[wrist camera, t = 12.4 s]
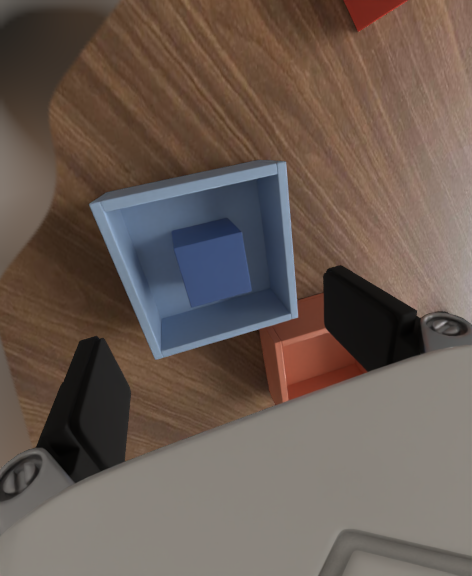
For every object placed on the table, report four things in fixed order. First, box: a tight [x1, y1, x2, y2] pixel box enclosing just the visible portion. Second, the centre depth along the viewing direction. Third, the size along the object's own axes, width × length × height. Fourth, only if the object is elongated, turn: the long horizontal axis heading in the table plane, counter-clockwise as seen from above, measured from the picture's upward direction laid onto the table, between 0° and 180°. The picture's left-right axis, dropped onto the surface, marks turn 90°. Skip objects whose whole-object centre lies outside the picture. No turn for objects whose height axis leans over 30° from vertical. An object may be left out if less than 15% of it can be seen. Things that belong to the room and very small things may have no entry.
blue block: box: [172, 218, 252, 308], centre depth 20 cm, size 4×4×4 cm
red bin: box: [259, 293, 367, 405], centre depth 27 cm, size 11×11×5 cm
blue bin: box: [89, 160, 298, 360], centre depth 20 cm, size 11×11×5 cm
